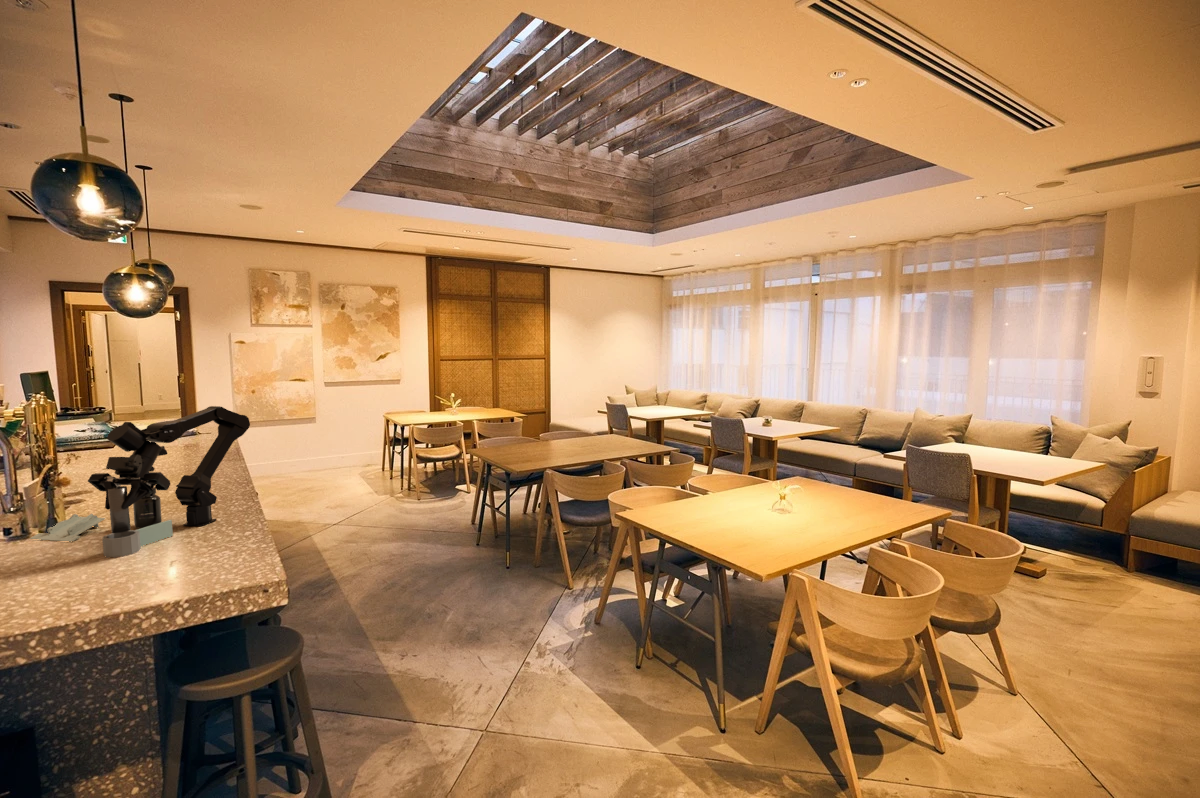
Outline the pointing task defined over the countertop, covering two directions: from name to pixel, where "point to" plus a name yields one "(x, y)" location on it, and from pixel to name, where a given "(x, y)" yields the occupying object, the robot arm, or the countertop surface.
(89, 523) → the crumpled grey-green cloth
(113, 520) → the hinge pin
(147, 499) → the supplement bottle
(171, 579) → the countertop surface
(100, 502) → the countertop surface
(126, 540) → the grey forked piece
